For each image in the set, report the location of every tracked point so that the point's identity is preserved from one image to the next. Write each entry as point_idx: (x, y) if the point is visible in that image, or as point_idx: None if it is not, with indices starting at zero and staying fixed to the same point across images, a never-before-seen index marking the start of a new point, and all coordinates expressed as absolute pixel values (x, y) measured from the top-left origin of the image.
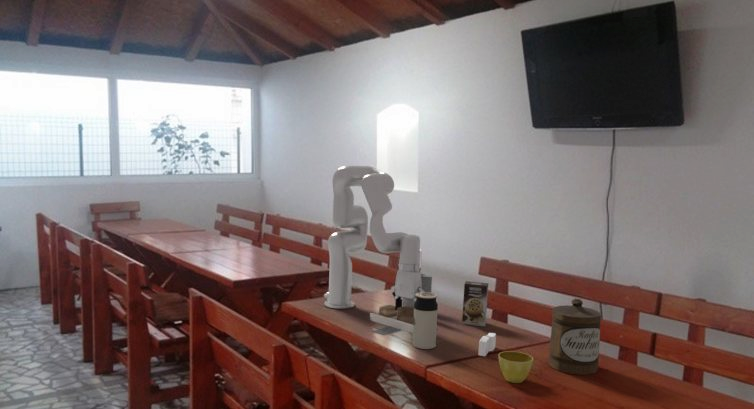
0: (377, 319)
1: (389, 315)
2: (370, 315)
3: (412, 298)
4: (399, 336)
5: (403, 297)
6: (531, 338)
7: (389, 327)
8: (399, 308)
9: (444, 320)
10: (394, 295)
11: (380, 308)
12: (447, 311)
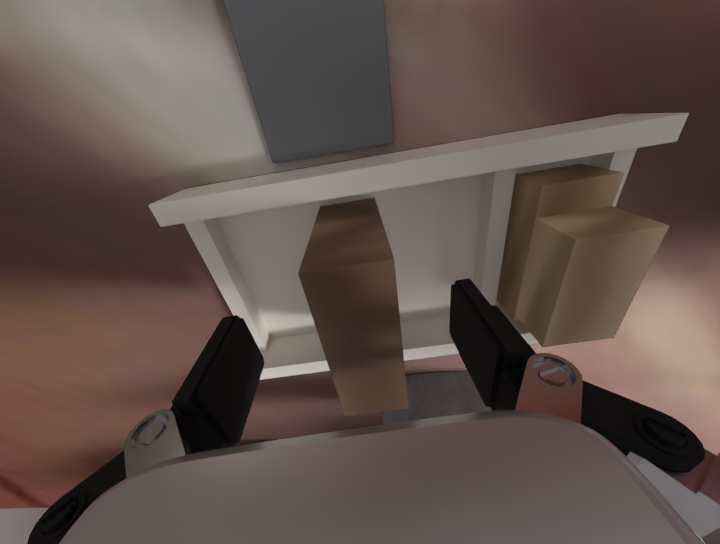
0: (552, 129)
1: (520, 254)
2: (659, 113)
3: (118, 484)
4: (130, 28)
5: (352, 431)
6: (63, 487)
7: (369, 116)
8: (360, 265)
9: (345, 424)
10: (611, 410)
11: (638, 223)
12: None
